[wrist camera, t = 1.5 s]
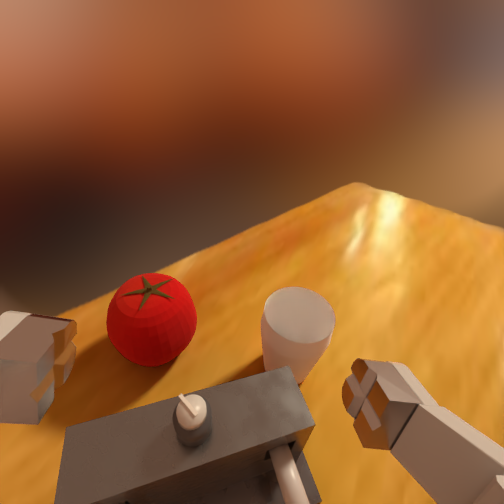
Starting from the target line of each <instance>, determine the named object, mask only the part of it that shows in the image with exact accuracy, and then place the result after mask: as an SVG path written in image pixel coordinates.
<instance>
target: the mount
mask: <svg viewBox="0 0 504 504" xmlns="http://www.w3.org/2000/svg"><path fill="white" fill-rule="evenodd" d="M191 394H195V395H199V396H202V397H204V398H205V399H206V400H207V401H208V402H209V404H210V406H211V411H212V430H211V433H210V435H209V437H208V438H207V439H206V441H204V442H203V443H202V444H200V445H198V446H195V447H188V446H185V445H183V444H182V443H181V442H180V441H179V440H178V438H177V436H176V432H175V429H174V425H173V418H172V417H173V412H174V409H175V407H176V405H177V404H178V403H179V402H180V401H181V399H180V398H179V396H177V397H174V398H170V399H166V400H163V401H159V402H156V403H152V404H148V405H145V406H141V407H138V408H134V409H130V410H127V411H123V412H120V413H116V414H112V415H109V416H105V417H102V418H98V419H94V420H91V421H87V422H84V423H80V424H76V425H73V426H69V427H66V432H65V439H64V445H63V451H62V458H61V464H60V470H59V476H58V483H57V489H56V495H55V502H54V504H120V503H123V502H125V504H285V502H284V499H283V495H282V492H281V489H280V486H279V482H278V479H277V476H276V473H275V470H274V466H273V463H272V460H271V457H270V454H269V450H270V449H273V448H276V447H278V446H281V445H284V444H287V443H288V445H289V448H290V451H291V453H292V456H293V459H294V462H295V464H296V467H297V470H298V473H299V476H300V478H301V481H302V484H303V487H304V489H305V492H306V495H307V498H308V501H309V503H310V504H319V503H321V502H322V500H321V498H320V495H319V492H318V490H317V487H316V485H315V482H314V480H313V477H312V474H311V472H310V469H309V467H308V464H307V461H306V459H305V456H304V454H303V451H302V450H303V448H304V446H305V444H306V442H307V440H308V438H309V436H310V434H311V432H312V430H313V428H314V426H315V423H314V420H313V418H312V416H311V414H310V411H309V409H308V407H307V405H306V402H305V400H304V398H303V396H302V393H301V391H300V389H299V387H298V384H297V382H296V380H295V378H294V375H293V373H292V371H291V369H290V366H285V367H282V368H278V369H274V370H271V371H267V372H264V373H260V374H256V375H253V376H249V377H246V378H242V379H238V380H235V381H231V382H228V383H224V384H220V385H217V386H213V387H210V388H206V389H202V390H199V391H195V392H192V393H188V394H184V395H183V396H184V397H186V396H188V395H191Z"/></svg>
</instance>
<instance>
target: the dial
mask: <svg viewBox="0 0 504 504" xmlns="http://www.w3.org/2000/svg"><path fill="white" fill-rule="evenodd" d="M179 398H180V399H181V401H180V402H179V403H178V404H177V405H176V407H175V409H174V412H173V417H172V418H173V425H174V429H175V432H176V436H177V438H178V440H179V441H180V442H181V443H182V444H183V445H185V446H188V447H195V446H198V445H200V444H202V443H203V442H204V441H206V439H207V438H208V437H209V435H210V433H211V430H212V411H211V406H210V404H209V402H208V401H207V400H206V399H205V398H204V397H202V396H199V395H195V394H191V395H188V396H186V397H184V396H183V395H182V394H181V395H179Z"/></svg>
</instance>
